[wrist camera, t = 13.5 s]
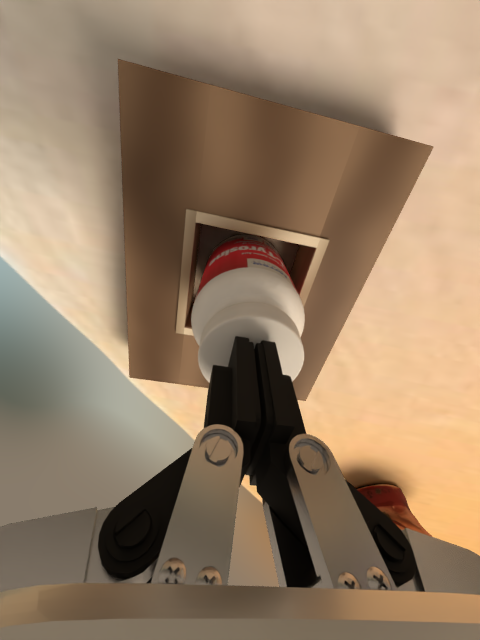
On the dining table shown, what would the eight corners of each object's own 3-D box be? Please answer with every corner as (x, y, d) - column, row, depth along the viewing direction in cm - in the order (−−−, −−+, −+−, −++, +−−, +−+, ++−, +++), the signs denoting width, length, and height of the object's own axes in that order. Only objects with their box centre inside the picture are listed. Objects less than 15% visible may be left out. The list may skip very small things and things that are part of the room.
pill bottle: (286, 233, 19) (338, 300, 9) (278, 305, 22) (309, 409, 12) (203, 231, 19) (171, 298, 9) (207, 304, 22) (186, 408, 12)
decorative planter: (421, 513, 45) (488, 638, 33) (355, 528, 48) (394, 647, 36) (400, 461, 36) (482, 608, 24) (319, 483, 39) (356, 624, 27)
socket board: (396, 150, 16) (436, 146, 13) (297, 374, 26) (305, 402, 23) (142, 81, 14) (116, 57, 11) (142, 351, 24) (128, 379, 21)
